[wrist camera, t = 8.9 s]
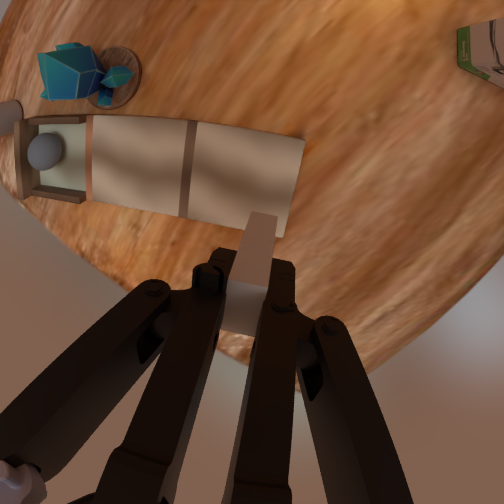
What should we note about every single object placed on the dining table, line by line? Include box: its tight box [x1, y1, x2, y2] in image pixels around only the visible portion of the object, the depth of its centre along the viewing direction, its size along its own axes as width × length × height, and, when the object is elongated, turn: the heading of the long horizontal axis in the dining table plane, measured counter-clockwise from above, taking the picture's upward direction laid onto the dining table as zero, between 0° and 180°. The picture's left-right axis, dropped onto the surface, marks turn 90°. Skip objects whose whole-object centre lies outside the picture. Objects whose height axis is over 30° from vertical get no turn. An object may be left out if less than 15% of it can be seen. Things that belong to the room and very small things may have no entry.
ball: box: [28, 133, 62, 171], centre depth 26 cm, size 4×4×4 cm
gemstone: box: [37, 43, 141, 110], centre depth 19 cm, size 7×9×12 cm
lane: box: [14, 114, 305, 238], centre depth 27 cm, size 10×33×4 cm, turn 80°
